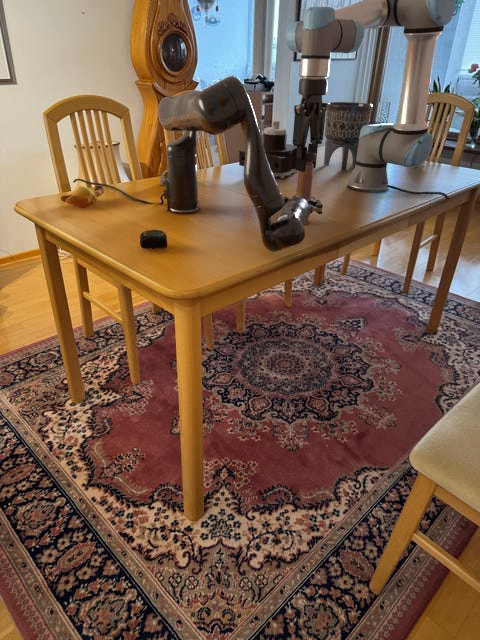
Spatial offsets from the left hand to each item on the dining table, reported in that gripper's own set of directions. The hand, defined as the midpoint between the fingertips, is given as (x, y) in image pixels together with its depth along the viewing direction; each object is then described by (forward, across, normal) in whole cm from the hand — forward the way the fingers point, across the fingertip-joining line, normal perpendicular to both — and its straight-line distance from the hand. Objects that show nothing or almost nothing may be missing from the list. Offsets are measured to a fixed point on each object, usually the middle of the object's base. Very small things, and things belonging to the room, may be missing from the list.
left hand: (304, 198), depth 138 cm
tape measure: (-37, +33, +6) cm, 50 cm away
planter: (+84, -5, +6) cm, 85 cm away
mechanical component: (+61, +19, +6) cm, 64 cm away
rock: (+28, +53, +6) cm, 60 cm away
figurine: (+101, -39, +6) cm, 109 cm away
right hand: (-3, 0, -9) cm, 10 cm away
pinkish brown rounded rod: (-3, 0, +6) cm, 7 cm away
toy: (-7, +71, +6) cm, 72 cm away
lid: (-3, 0, -14) cm, 14 cm away
